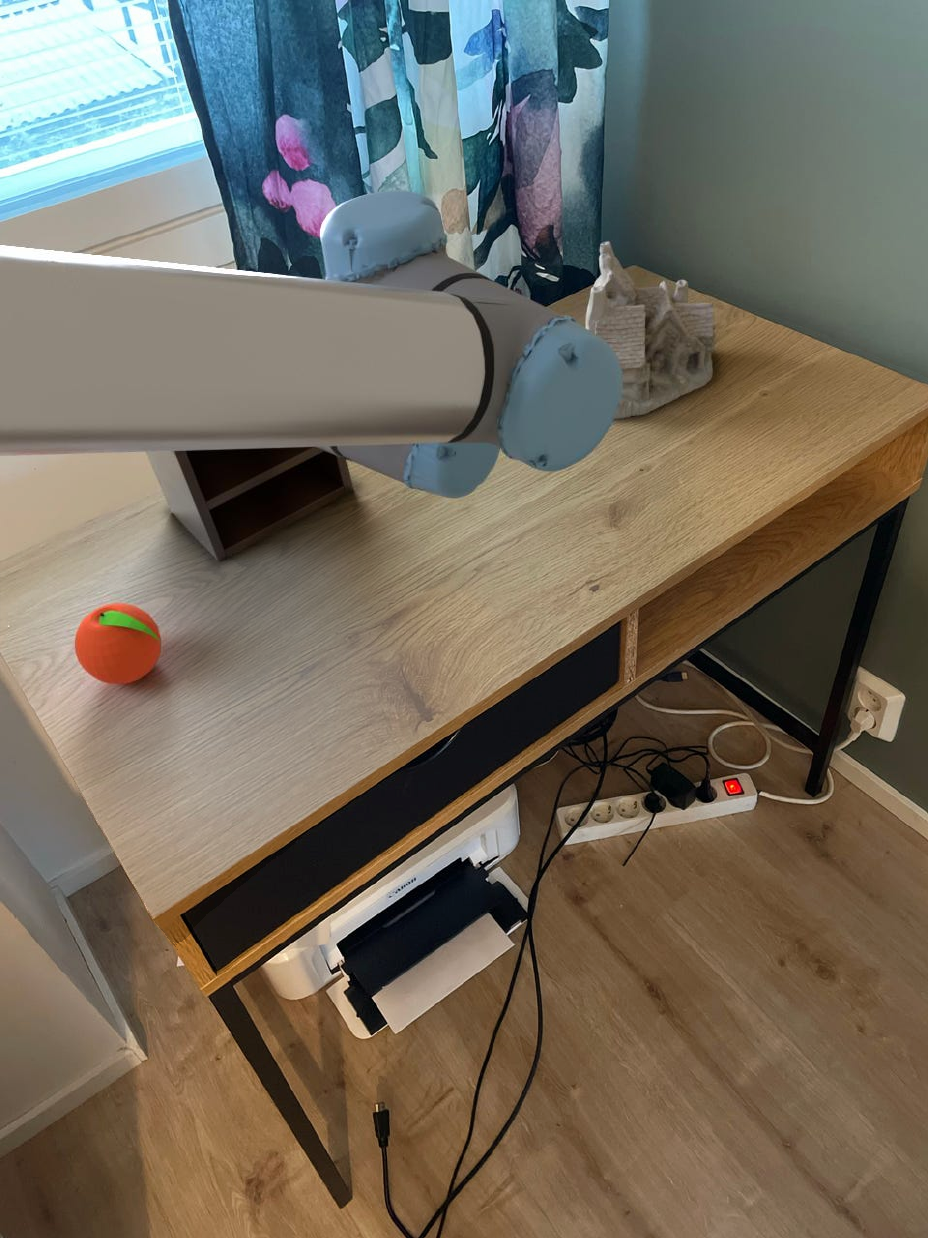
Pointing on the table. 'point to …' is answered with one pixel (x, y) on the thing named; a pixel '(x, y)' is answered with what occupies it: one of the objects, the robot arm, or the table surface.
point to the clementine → (118, 643)
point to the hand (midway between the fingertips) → (135, 329)
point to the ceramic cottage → (651, 336)
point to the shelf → (246, 490)
